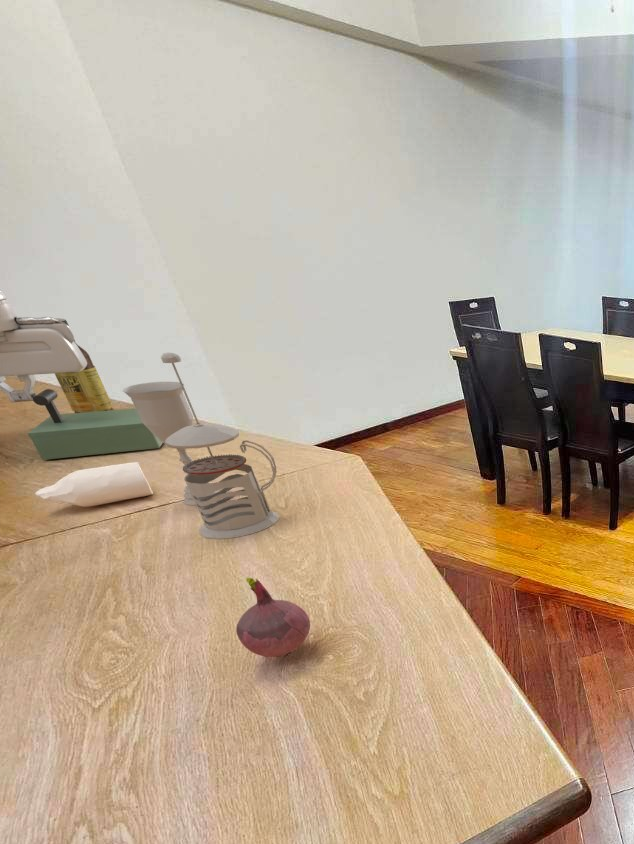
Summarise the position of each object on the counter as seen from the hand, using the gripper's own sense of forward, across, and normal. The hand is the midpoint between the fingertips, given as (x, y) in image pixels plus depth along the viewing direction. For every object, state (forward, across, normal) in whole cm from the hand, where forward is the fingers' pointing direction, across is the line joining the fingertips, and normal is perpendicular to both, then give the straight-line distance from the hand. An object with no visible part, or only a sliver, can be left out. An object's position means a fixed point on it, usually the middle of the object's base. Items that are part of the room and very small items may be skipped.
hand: (24, 400), depth 105 cm
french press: (+10, -34, +49) cm, 60 cm away
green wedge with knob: (+9, -8, 0) cm, 12 cm away
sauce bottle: (+10, -1, -24) cm, 26 cm away
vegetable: (+10, -41, +88) cm, 97 cm away
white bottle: (+10, -14, +32) cm, 36 cm away
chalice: (+10, -27, +36) cm, 46 cm away
